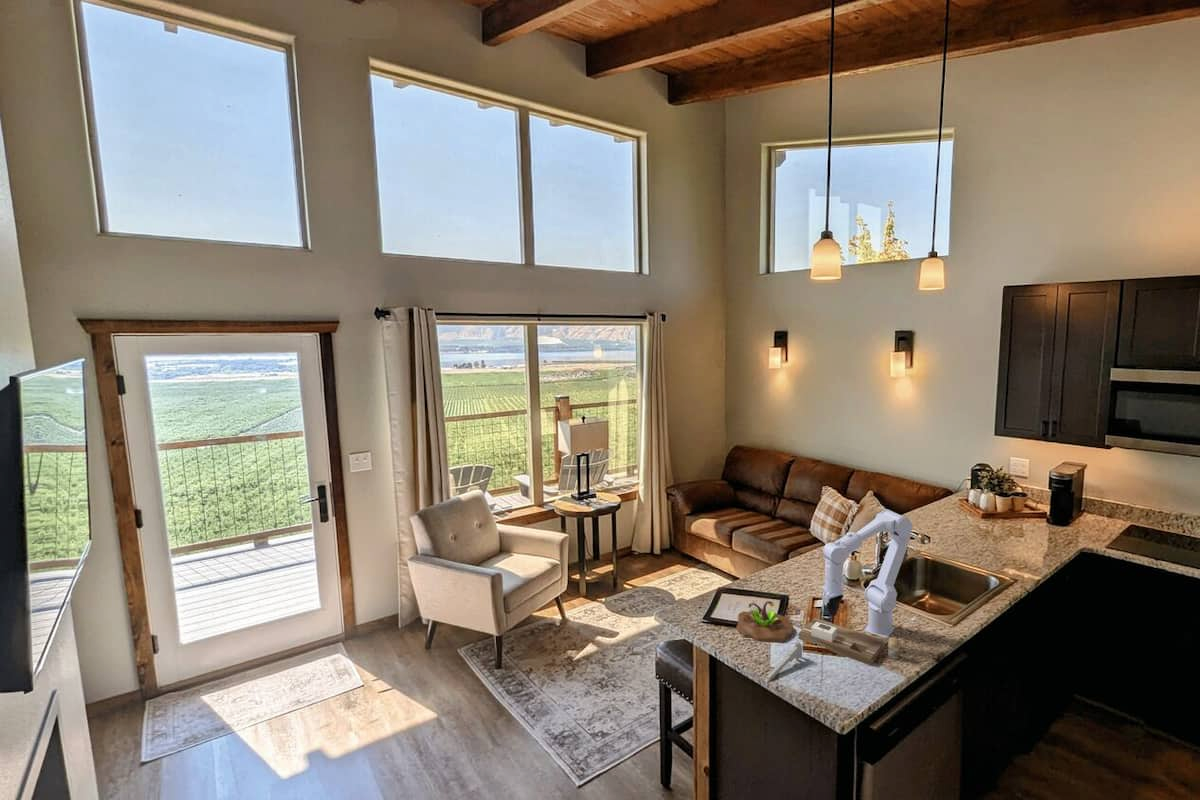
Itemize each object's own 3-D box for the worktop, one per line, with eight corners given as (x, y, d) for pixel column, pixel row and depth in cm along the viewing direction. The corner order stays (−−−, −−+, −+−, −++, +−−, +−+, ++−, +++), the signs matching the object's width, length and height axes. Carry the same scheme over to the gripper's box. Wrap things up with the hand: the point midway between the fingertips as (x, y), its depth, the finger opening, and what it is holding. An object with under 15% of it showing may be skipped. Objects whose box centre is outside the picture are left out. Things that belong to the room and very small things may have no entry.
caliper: (799, 657, 189) (799, 639, 188) (802, 658, 188) (802, 640, 187) (764, 682, 175) (764, 663, 175) (767, 684, 175) (767, 664, 174)
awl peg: (889, 653, 190) (890, 636, 190) (899, 656, 188) (900, 639, 187) (886, 657, 188) (887, 640, 187) (897, 661, 186) (897, 643, 185)
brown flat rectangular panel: (814, 623, 210) (814, 617, 210) (884, 647, 194) (884, 640, 193) (798, 639, 200) (798, 632, 199) (870, 665, 183) (870, 658, 183)
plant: (793, 648, 195) (793, 618, 194) (734, 640, 201) (735, 610, 200) (792, 620, 214) (792, 592, 212) (739, 613, 220) (739, 585, 218)
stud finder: (816, 629, 201) (816, 620, 201) (836, 636, 197) (836, 626, 196) (811, 635, 198) (811, 626, 197) (831, 642, 193) (832, 632, 193)
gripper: (830, 567, 206) (829, 603, 208) (813, 581, 196) (813, 618, 198) (850, 573, 202) (849, 609, 203) (834, 587, 191) (833, 625, 193)
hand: (832, 614), depth 200 cm, fingers closed
